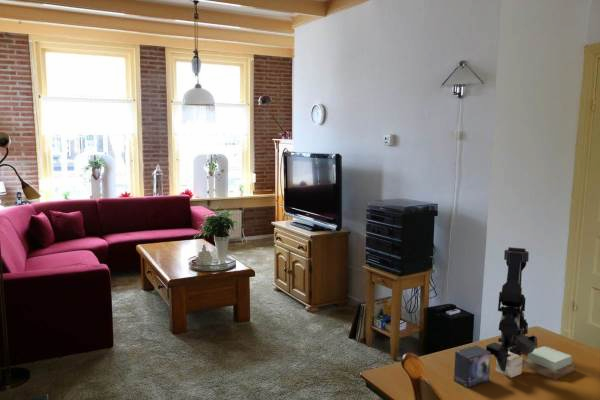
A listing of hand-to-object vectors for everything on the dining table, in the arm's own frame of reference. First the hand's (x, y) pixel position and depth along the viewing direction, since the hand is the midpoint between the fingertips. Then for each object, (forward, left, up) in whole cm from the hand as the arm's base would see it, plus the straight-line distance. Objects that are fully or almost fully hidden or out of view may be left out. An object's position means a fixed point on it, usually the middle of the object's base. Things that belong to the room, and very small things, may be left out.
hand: (508, 368), depth 167 cm
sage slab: (+6, +14, +1) cm, 16 cm away
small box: (-3, -16, -2) cm, 16 cm away
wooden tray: (+6, +14, -2) cm, 15 cm away
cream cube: (0, 0, -1) cm, 1 cm away
